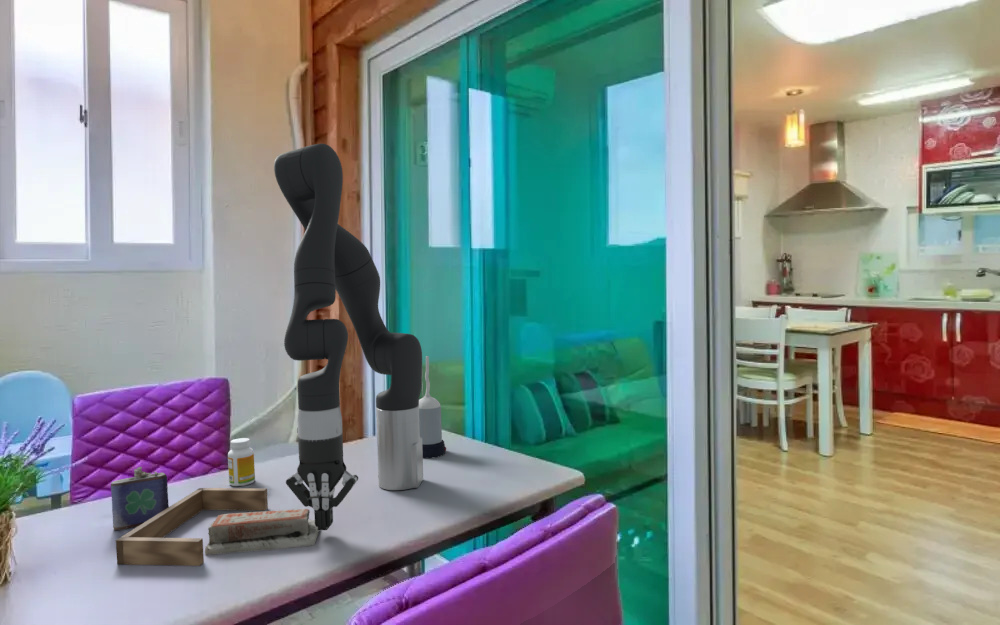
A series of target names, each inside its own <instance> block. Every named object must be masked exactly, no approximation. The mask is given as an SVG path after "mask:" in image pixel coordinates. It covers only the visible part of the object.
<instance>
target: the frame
mask: <svg viewBox="0 0 1000 625" xmlns="http://www.w3.org/2000/svg"><path fill="white" fill-rule="evenodd" d="M268 502H269V501H268V488H254V487H253V488H250V487H249V488H241V487H239V488H238V487H236V488H235V487H233V488H232V487H229V488H228V487H227V488H226V487H224V488H223V487H199V488H197V489H196V490H194V491H193V492H191V493H189V494H188V495H185V496H184V497H183V498H181V499H180V500H178V501H177V502H174V503H173V504H171V505H170V506H169V507H168V508H167V509H165V510H164V511H162V512H160V513H159V514H157V515H156V516H154V517H152V518H151V519H149V520H147V521H146V522H144V523H143V524H141V525H139V526H138V527H134V528H133V529H132V530H130V531H128V532H127V533H125V534H123V535H121V536H120V537H119V538H117V539H115V550H116V564H117V565H135V566H137V565H138V566H183V567H184V566H187V567H188V566H189V567H191V566H192V567H197V566H198V567H199V566H200V567H201V565H202V564H204V562H205V559H204V558H205V557H204V555H205V554H204V542H203V538H201V537H200V538H197V537H193V538H192V537H189V538H188V537H166V536H167V535H169V534H170V533H172V532H173V531H175V530H176V529H178V528H179V527H180V526H181V525H183V524H185V523H186V522H188V521H189V520H191V519H192V518H193V517H195V516H196V515H198V514H199V513H201V512H202V511H261V512H265V511H267V509H269V506H268V505H269V504H268Z"/></svg>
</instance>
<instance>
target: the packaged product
mask: <svg viewBox="0 0 1000 625" xmlns="http://www.w3.org/2000/svg"><path fill="white" fill-rule="evenodd" d="M310 513H311V511H310V509H308V508H303V509H302V508H301V509H282V510H268V511H267V510H265V511H253V512H252V511H249V512H234V513H232V512H231V513H224V514H223V513H222V514H219V515H217V517H216V518H215V520H214V521H213V522H212V523H211V525H210V526H208V529H207V530H208V533H207V534H208V543H207V545H206V546H205V549H204V555H205V554H206V556H208V555H209V554H210V555H218V554H220V555H222V554H230V553H231V554H232V553H244V552H256V551H268V550H269V551H271V550H282V549H291V548H299V547H300V548H302V547H310V546H311V545H312V546H315V544H316V541H317V538H318V536H319V532H320V530H318V527H316V525H315V519H310Z"/></svg>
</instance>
